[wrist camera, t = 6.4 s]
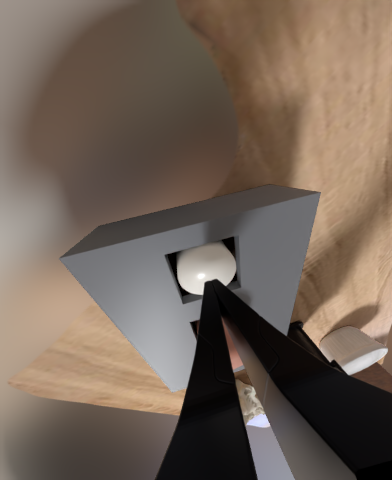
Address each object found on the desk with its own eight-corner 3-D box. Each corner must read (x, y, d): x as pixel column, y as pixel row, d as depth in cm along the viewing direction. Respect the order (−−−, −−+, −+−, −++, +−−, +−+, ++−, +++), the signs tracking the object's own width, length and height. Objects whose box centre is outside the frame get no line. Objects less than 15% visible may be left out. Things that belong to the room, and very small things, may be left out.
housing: (269, 184, 13) (320, 192, 9) (261, 322, 24) (281, 356, 20) (98, 225, 12) (58, 258, 8) (171, 350, 23) (172, 392, 19)
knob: (214, 218, 13) (234, 239, 9) (219, 255, 15) (237, 285, 11) (169, 230, 13) (170, 257, 9) (181, 266, 15) (185, 300, 11)
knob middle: (230, 292, 15) (254, 338, 11) (233, 316, 17) (253, 362, 13) (190, 304, 14) (198, 355, 10) (198, 327, 16) (207, 377, 12)
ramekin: (367, 323, 33) (399, 348, 28) (333, 349, 37) (356, 375, 33) (339, 320, 30) (370, 348, 25) (305, 349, 34) (326, 378, 29)
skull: (245, 446, 39) (217, 441, 27) (234, 403, 46) (208, 384, 33) (287, 432, 38) (279, 420, 26) (270, 391, 45) (256, 366, 33)
